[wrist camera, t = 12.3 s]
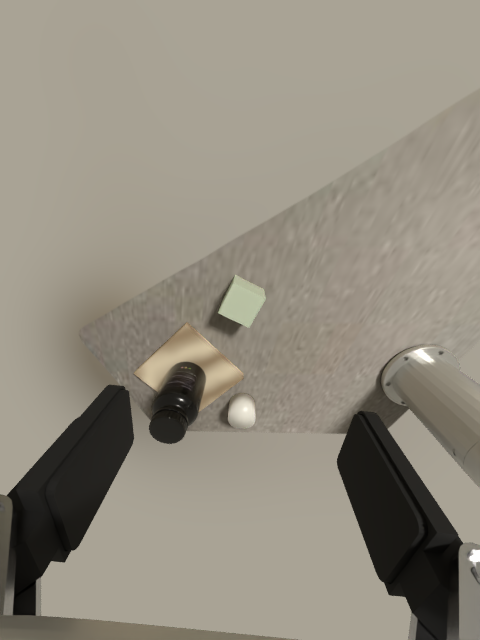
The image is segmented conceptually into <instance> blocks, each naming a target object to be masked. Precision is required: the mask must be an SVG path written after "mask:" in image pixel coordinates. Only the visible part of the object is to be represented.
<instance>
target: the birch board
mask: <svg viewBox="0 0 480 640" xmlns="http://www.w3.org/2000/svg"><path fill="white" fill-rule="evenodd" d="M180 362H192V363H195V364H197V365H198V366H200V367H201V368H202V369H203V371H204V372H205V375H206V384H205V388H204V392H203V396H202V400H201V404H200V408H199V411H201V410H202V409H203V408H205V407H206V406H207V405H209V404H210V403H211V402H213V401H214V400H215V399H217V398H218V397H219V396H221V395H222V394H223V393H225V392H226V391H227V390H229V389H230V388H231V387H233V386H234V385H235V384H237V383H238V382H239V381H241V380H242V379H243V373H242V372H241V371H240V370H239V369H238V368H237V367H236V366H235V365H234V364H232V363H231V362H230V361H229V360H228V359H227V358H226V357H225V356H224V355H223V354H221V353H220V352H219V351H218V350H217V349H216V348H215V347H214V346H213V345H212V344H210V343H209V342H208V341H207V340H206V339H205V338H204V337H203V336H202V335H201V334H199V333H198V332H197V331H196V330H195V329H194V328H193V327H192V326H191V325H190V324H188V323H185V324H184V325H183V326H182V327H181V328H180V329H179V330H178V331H177V332H176V333H175V334H174V335H173V336H172V337H171V338H169V339H168V340H167V341H166V342H165V343H164V344H163V345H162V346H161V347H160V348H159V349H158V350H157V351H156V352H155V353H153V354H152V355H151V356H150V357H149V358H148V359H147V360H146V361H145V362H144V363H143V364H142V365H141V366H140V367H139V368H137V370H136V371H135V372H134V374H135V375H136V376H137V377H139V378H140V379H141V380H143V381H144V382H145V383H146V384H148V385H149V386H150V387H152V388H153V389H154V390H156V391H157V392H158V391H159V389H160V387H161V385H162V383H163V382H164V380H165V378H166V376H167V374H168V372H169V371H170V369H171V368H172V367H173V366H174V365H175V364H177V363H180Z"/></svg>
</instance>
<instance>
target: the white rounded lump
mask: <svg viewBox="0 0 480 640" xmlns="http://www.w3.org/2000/svg"><path fill="white" fill-rule="evenodd" d="M228 422H229V423H230V425H231V426H233V427H234V428H237V429H247V428H250V427H251V426H252V425H253V424H254V423H255V401H254V399H253V397H252V396H250V395H248V394H245V393H238V394H235V395H234V396H232V397H231V399H230V402H229V412H228Z"/></svg>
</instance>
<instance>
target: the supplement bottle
mask: <svg viewBox="0 0 480 640" xmlns="http://www.w3.org/2000/svg"><path fill="white" fill-rule="evenodd" d="M205 384H206V375H205V372H204V371H203V369H202V368H201V367H200V366H198V365H197V364H195V363H192V362H180V363H177V364H175V365H174V366H173V367H172V368H171V369H170V371H169V372H168V374H167V376H166V378H165V380H164V382H163V383H162V385H161V387H160V389H159V391H158V393H157V395H156V397H155V399H154V401H153V403H152V414H153V417H152V420H151V422H150V425H149V430H150V433H151V435H152V436H153V438H155V439H156V440H157V441H160V442H163V443H167V444H172V443H177V442H178V441H180V440H181V439H182V438H183V437H184V435H185V433H186V430H187V427H188V426H190V425H191V424H192V423H193V422H194V421H195V420H196V418H197V415H198V412H199V408H200V404H201V400H202V396H203V392H204V388H205Z"/></svg>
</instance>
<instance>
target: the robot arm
mask: <svg viewBox="0 0 480 640" xmlns="http://www.w3.org/2000/svg"><path fill="white" fill-rule="evenodd" d="M381 386H382V389H383V391H384V393H385V394H386V395H387V397H388V398H389V399H390V400H392V401H393V402H394V403H397V404H399V405H403V406H408V407H409V409H410V410H411V411H412V412H413V413H414V414H415V415H416V416H417V418H418V419H419V420H420V421H421V422H422V423H423V425H424V426H425V427H426V428H427V429H428V430H429V431H430V432H431V434H433V436H434V437H435V438H436V439H437V441H438V442H439V443H440V444H441V445H442V446H443V447H444V449H445V450H446V451H447V452H448V453H449V454H450V455H451V456H452V458H453V459H454V460H455V461H456V462H457V463H458V465H459V466H460V467H461V468H462V469H463V470H464V471H465V473H466V474H467V475H468V476H469V477H470V478H471V479H472V480H473V481H474V483H475V484H476V485H477V486H478V487H480V384H479V383H477V382H476V381H474V380H473V379H471V378H470V377H469V376H467V375H466V374H464V373H463V372H461V371H460V364H459V361H458V359H457V358H456V356H455V355H454V354H453V353H451V352H450V351H448V350H447V349H445V348H443V347H440V346H436V345H420V346H416V347H412V348H410V349H407V350H405V351H403V352H401V353H400V354H398V355H397V356H396V357H394V358H393V359H392V360H391V361H390V362H389V363H388V364H387V366H386V367H385V369H384V371H383V374H382V377H381ZM133 440H134V434H133V424H132V416H131V406H130V397H129V391H128V390H125V387H124V386H117V385H108V386H107V387H106V388H105V389H104V390H103V391H102V392H101V393H100V394H99V396H98V397H97V398H96V399H95V400H94V401H93V402H92V403H91V405H90V406H89V407H88V408H87V409H86V410H85V412H84V413H83V414H82V415H81V416H80V417H79V418H77V419H75V420H74V421H73V422H72V423H71V424H70V425H69V426H68V428H67V429H66V430H65V431H64V432H63V433H62V434H61V436H60V437H59V438H58V439H57V440H56V441H55V442H54V443H53V445H52V446H51V447H50V448H49V449H48V450H47V451H46V452H45V453H44V454H43V456H42V457H41V458H40V459H39V460H38V461H37V462H36V463H35V464H34V466H33V467H32V468H31V469H30V470H29V471H28V472H27V473H26V475H25V476H24V477H23V478H22V479H21V480H20V481H19V483H18V484H17V485H16V486H15V487H14V488H13V489H12V490H11V491H10V492H9V494H8V495H7V496H5V495H0V640H295V639H286V638H276V637H265V636H255V635H246V634H236V633H226V632H216V631H206V630H196V629H186V628H175V627H165V626H154V625H143V624H131V623H121V622H111V621H101V620H89V619H75V618H61V617H47V616H41V576H42V575H43V573H44V572H45V570H46V569H47V567H48V565H49V563H50V562H51V561H56V562H65V561H66V559H67V557H68V555H69V554H70V552H71V550H75V549H76V548H77V547H78V546H79V544H80V543H81V541H82V539H83V537H84V535H85V533H86V531H87V529H88V528H89V526H90V524H91V522H92V520H93V518H94V516H95V514H96V513H97V510H98V509H99V507H100V505H101V503H102V501H103V499H104V497H105V495H106V494H107V492H108V490H109V488H110V486H111V484H112V482H113V480H114V478H115V477H116V475H117V473H118V471H119V469H120V467H121V465H122V463H123V461H124V460H125V458H126V456H127V454H128V452H129V450H130V448H131V446H132V444H133ZM337 465H338V469H339V472H340V475H341V477H342V480H343V483H344V486H345V488H346V491H347V494H348V497H349V499H350V502H351V505H352V508H353V510H354V513H355V516H356V519H357V521H358V524H359V527H360V529H361V532H362V535H363V538H364V540H365V543H366V546H367V548H368V551H369V554H370V557H371V560H372V562H373V565H374V568H375V571H376V573H377V575H378V577H379V579H380V580H381V581H382V582H384V583H385V586H386V589H387V591H388V594H389V595H392V596H403V597H406V599H407V602H408V604H409V606H410V609H411V611H412V613H411V621H410V629H409V637H408V640H480V545H477V544H474V543H464V544H463V542H462V541H461V540H460V538H459V537H458V534H457V532H456V530H455V529H454V527H453V526H452V524H451V523H450V522H449V520H448V518H447V517H446V516H445V514H444V513H443V511H442V510H441V508H440V507H439V505H438V504H437V502H436V501H435V499H434V498H433V496H432V495H431V493H430V492H429V490H428V489H427V487H426V486H425V484H424V483H423V481H422V480H421V478H420V477H419V476H418V474H417V473H416V471H415V470H414V469H413V467H412V465H411V464H410V462H409V461H408V459H407V458H406V456H405V455H404V453H403V452H402V450H401V449H400V447H399V446H398V444H397V443H396V442H395V440H394V439H393V437H392V436H391V434H390V433H389V431H388V430H387V428H386V427H385V425H384V424H383V422H382V421H381V419H380V418H379V416H378V415H377V414H376V413H374V412H365V411H359V412H358V414H355V415H354V416H353V419H352V422H351V424H350V427H349V429H348V432H347V435H346V437H345V440H344V442H343V445H342V448H341V450H340V453H339V455H338V458H337Z"/></svg>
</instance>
